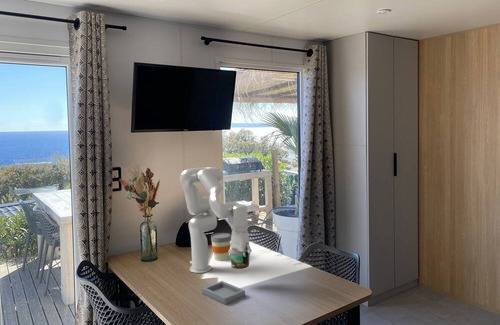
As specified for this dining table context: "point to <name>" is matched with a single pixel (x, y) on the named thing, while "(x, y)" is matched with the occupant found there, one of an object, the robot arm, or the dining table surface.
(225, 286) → the tray
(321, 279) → the dining table surface
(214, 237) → the reusable coffee cup
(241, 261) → the food container
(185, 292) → the dining table surface
